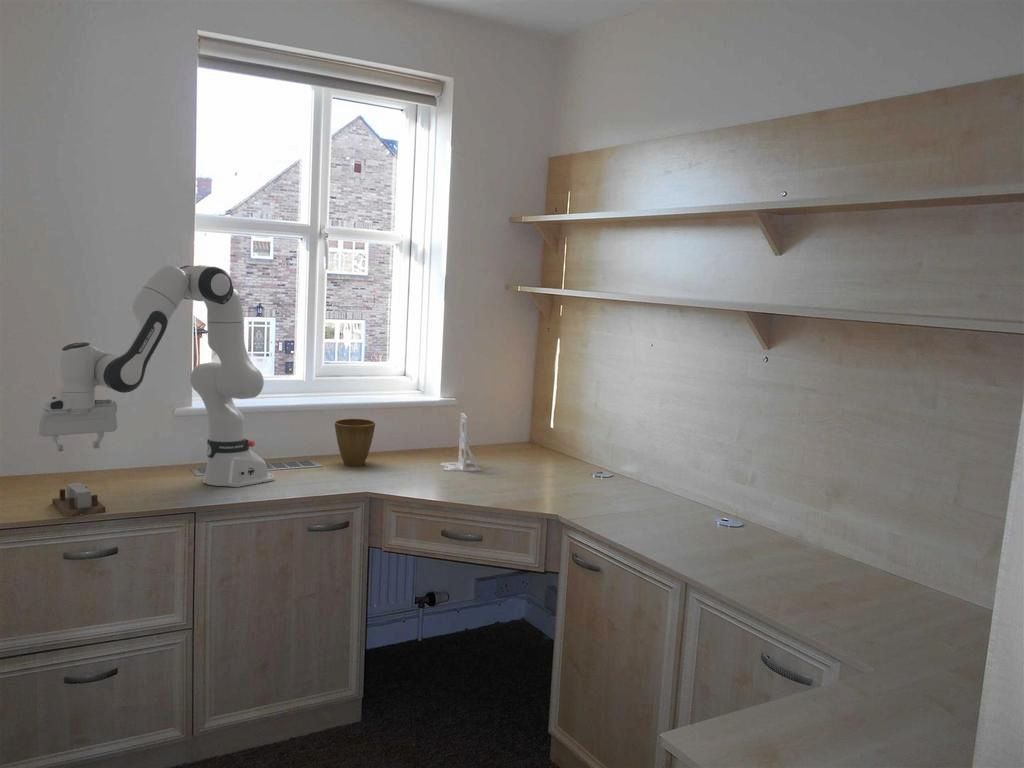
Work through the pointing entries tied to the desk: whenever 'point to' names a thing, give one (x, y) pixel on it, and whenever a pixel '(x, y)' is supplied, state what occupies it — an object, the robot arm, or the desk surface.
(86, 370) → the robot arm
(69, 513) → the footed brown board
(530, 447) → the desk surface
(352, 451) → the plant pot
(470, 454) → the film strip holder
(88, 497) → the grey rectangular block
